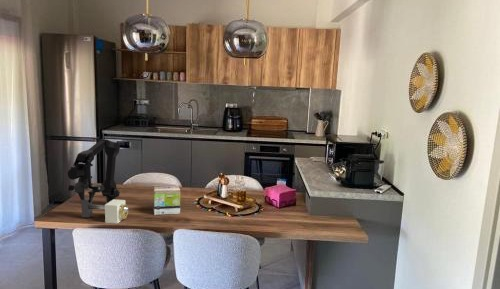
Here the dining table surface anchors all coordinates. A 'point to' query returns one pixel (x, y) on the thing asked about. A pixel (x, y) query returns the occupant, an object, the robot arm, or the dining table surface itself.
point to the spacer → (122, 211)
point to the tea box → (166, 200)
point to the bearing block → (113, 211)
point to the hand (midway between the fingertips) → (86, 202)
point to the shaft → (92, 207)
